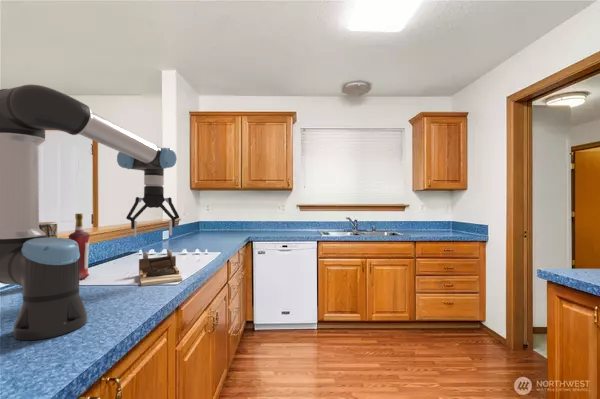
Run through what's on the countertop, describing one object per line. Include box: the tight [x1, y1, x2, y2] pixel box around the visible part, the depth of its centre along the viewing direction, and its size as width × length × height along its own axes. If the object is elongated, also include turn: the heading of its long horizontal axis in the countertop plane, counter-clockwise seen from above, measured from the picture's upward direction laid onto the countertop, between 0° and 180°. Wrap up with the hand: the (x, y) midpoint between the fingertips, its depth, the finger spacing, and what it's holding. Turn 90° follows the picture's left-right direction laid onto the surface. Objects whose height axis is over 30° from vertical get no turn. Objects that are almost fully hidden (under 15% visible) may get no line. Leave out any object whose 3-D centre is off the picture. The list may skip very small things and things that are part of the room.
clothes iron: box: [146, 255, 175, 277], centre depth 133 cm, size 7×11×10 cm, turn 130°
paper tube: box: [39, 221, 58, 238], centre depth 121 cm, size 7×7×25 cm
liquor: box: [68, 213, 91, 281], centre depth 131 cm, size 7×7×28 cm
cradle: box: [138, 249, 183, 287], centre depth 133 cm, size 20×15×10 cm
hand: (153, 235), depth 130 cm, fingers open, 13 cm apart
